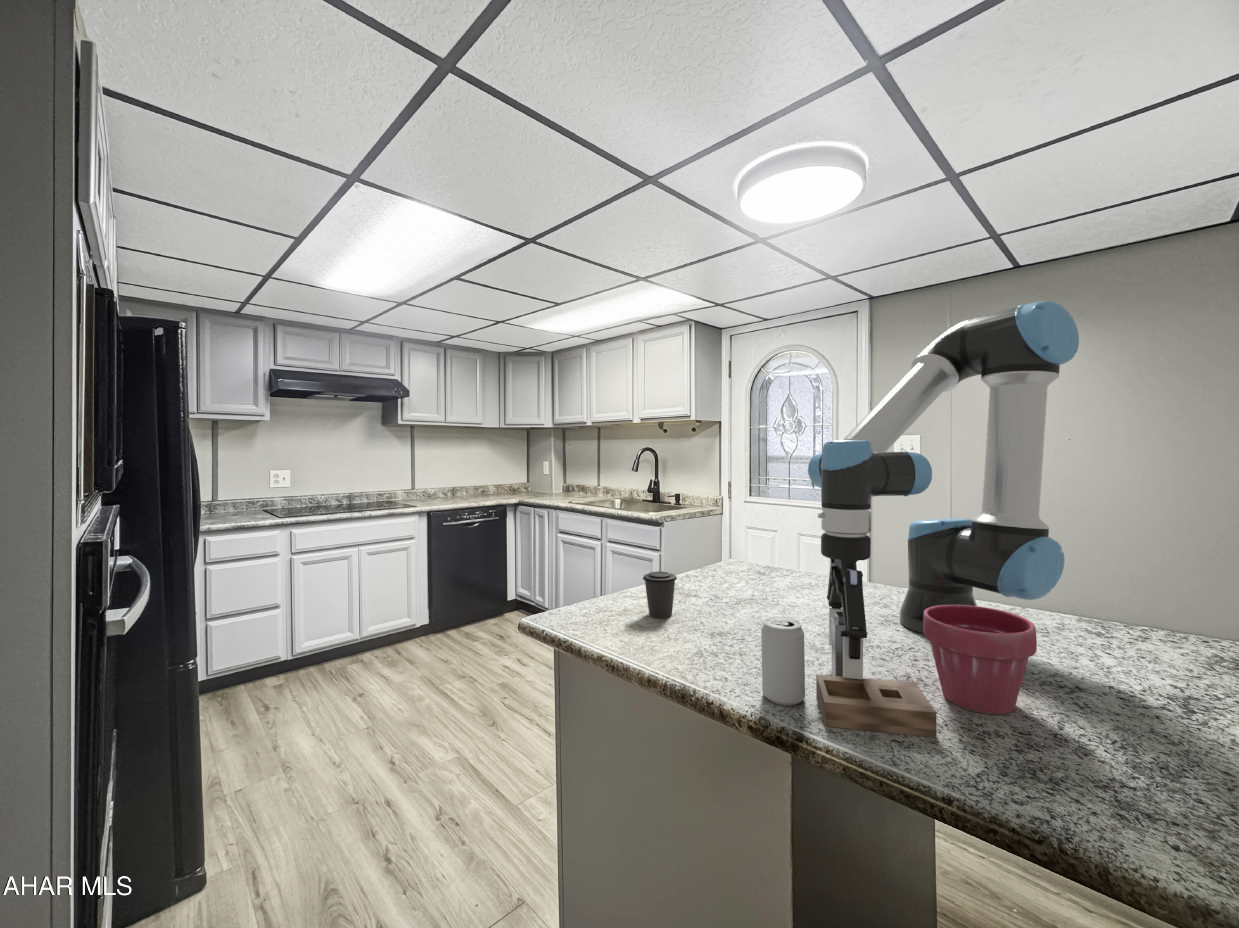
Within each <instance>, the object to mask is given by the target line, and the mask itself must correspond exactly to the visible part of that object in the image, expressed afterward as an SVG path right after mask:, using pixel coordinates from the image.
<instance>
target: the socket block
mask: <svg viewBox="0 0 1239 928" xmlns="http://www.w3.org/2000/svg"><path fill="white" fill-rule="evenodd" d="M815 678H816V679H815V680H816V700H817V702H818V705H819V709H820V714H821V716H822V717H821V718H822V720H823V721H822V722H823V724H824V727H830V728H840V729H841V728H842V729H848V730H849V729H850V730H859V731H870V732H879V733H888V734H898V735H899V734H900V735H908V736H918V737H929V738H937V711H936V710H935V708H934V707H933V706H932V704H931V703H930V702H929V700H928V699H927V697H926V696H925V694H924V693H923V691H922V690H921V688H920V687H919V686H918V684H917V683H916V682H915V681H913V682H912V681H903V680H902V681H900V680H888V679H878V678H877V679H876V678H864V677H863V679H853V678H844V677H840V676H832V675H825V674H816V677H815Z"/></svg>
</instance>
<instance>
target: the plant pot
mask: <svg viewBox="0 0 1239 928" xmlns="http://www.w3.org/2000/svg"><path fill="white" fill-rule="evenodd" d="M923 631H924V634H923V636H924V637H925V638H926V639H927V640H928V641H929V642H930V646H931V651H932V655H933V659H934V663H935V667H936V672H937V675H938V679H939V680H938V681H939V684H940V687H941V691H942V694H943V696H944V698H946V700H948V701H949V702H950V703H952V704H954V705H956V706H958V707H960V708H963V709H967V710H970V711H972V712H977V713H983V714H989V715H1006V714H1010V713H1012V712H1013V711H1014V710H1015V709H1016V706H1017V701H1018V698H1019V694H1020V690H1021V687H1022V683H1023V680H1024V676H1025V671H1026V668H1027V664H1028V661H1029V658H1030V657H1033V656H1035V655H1036V653H1037V650H1038V649H1037V645H1038V643H1037V629H1036V625H1035V624H1034V623H1033V622H1032V621H1031V620H1030V619H1027V618H1026V617H1023V616H1020V615H1018V614H1015V613H1012V612H1009V611H1006V610H1001V609H997V608H991V607H985V606H978V605H977V606H970V605H939V606H933V607H929V608H927V609H926V610H925V611H924V614H923Z"/></svg>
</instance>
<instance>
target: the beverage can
mask: <svg viewBox="0 0 1239 928" xmlns="http://www.w3.org/2000/svg"><path fill="white" fill-rule="evenodd" d="M760 631H761V633H760V634H761V679H762V680H761V684H762V685H761V686H762V687H761V689H762V694H763V695H764V697H766V698H767V699H768V700H769V701H770V702H772V703H774V704H777V705H780V706H788V707H790V706H796V705H798V704H800V703H801V702H802V701H803V700H804V699H805V698H806V674H805V673H806V672H805V671H806V670H805V669H806V668H805V667H806V666H805V665H806V662H805V661H806V660H805V656H806V655H805V631H804V630H803V627H802V623H801V622H800V621H799V620H797V619H795V618H791V617H785V616H773V617H767V618H765V619H764V620H763V625H762V627H761V628H760Z"/></svg>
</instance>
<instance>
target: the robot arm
mask: <svg viewBox="0 0 1239 928" xmlns="http://www.w3.org/2000/svg"><path fill="white" fill-rule="evenodd" d="M1079 343H1080V337H1079V330H1078V327H1077V323H1076V322H1075V320H1074V316H1072V315H1071V313H1070V312H1069V310H1068V309H1067V308H1065V307H1064V306H1063V305H1061V304H1059V303H1058V302H1055V301H1051V300H1041V301H1036V302H1032V303H1022V304H1020V305H1018V306H1015V307H1010V308H1007V309H1004V310H1003V309H1002V310H998V311H995V312H991V313H987V314H984V315H980V316H975V317H970V318H967V319H966V320H964V321H963V320H962V322H961V321H960V322H959V323H957V324H955V325H954V326H952V327H950V328H949V329H948V330H946V331H944V332H943V333H942V334H941V335H939V336H938V337H936V339H934V340H933V341H932V342H931V343H930V344H928V345H927V346H925V347H926V348H924V349H923V350H922V351H921V352H920V353H919V354H918V355H917V356H916V357H914V359H913V360H912V362H911V369H910V371H908V373H906V374H905V376H903V377H902V378H901V380H900V381H899V382H898V383H897V384H896V385H895V386H894V387H893V388H892V389H891V390H890V391H889V392H888V393H887V394H886V395H885V396H884V397H883V398H882V399H881V400H880V401H879V402H878V403H877V404H876V405H874V407H873V408H872V410H870V411H869V412H868V413H867V414H866V416H864V418H863V419H861V421H860V422H859V423H858V424H856V426H855V427H853V429H852V430H851V431H850V432H849V433H848V434H847V435H846V436H845V437H844V438H843V439H840V440H828V441H826V442H824V444H823V445H822V450H821V452H819V453H816V454H814V455H813V456H812V458H811V459H810V461H809V463H808V466H807V474H808V477H809V480H810V481H811V483H812V484H813V485H814V486H816V487H817V488H819V489H820V490H821V493H820V494H821V512H818V513H817V518H819V519H821V526H820V527H821V528H820V529H821V530H822V531H823V532H822V534H821V535H820V554H821V555H822V556H824V557H825V558H828V559H829V561H830V563H829V576H828V584H827V585H828V586H827V594H826V600H827V601H828V607H829V608H828V646H831V617H836V611H839V612H843V619H844V627H845V631H841V633H840V636H841V637H843V677H844V678H853V679H863V678H864V675H863V673H864V639H867V638H868V631H867V621H866V611H865V598H864V590H863V589H864V588H863V587H864V586H863V577H864V576H863V575H864V574H863V572H862V570H858V569H857V567H858V566H857V562H859V561H867V560H868V559H870V558H871V546H872V545H871V544H872V543H871V542H872V541H871V540H872V539H871V537H870V536H869V535H868V534H870V533H871V532H872V497H896V496H898V497H899V496H900V497H901V496H903V497H908V496H913V495H919V494H922V493H923V492H925V491H926V490H927V489H928V488H929V487H930V485H931V483H932V480H933V477H932V476H933V468H932V465H931V463H930V461H929V460H928V458H927V457H925V456H924V455H923V454H920V453H919V452H914V451H913V452H912V451H907V450H905V451H902V450H901V451H889V449H890V448H891V447H892V446H893V445H894V444H895V443H896V442H897V441H898V440H899V439H900V438H901V436H903V435H904V433H906V431H908V429H909V428H911V426H912V425H913V424H914V423H915V422H916V421H917V420H918V418H920V417H921V416H922V415H923V413H925V412H926V411H927V409H929V407H930V406H931V405H932V404H934V402H935V401H936V400H937V398H939V397H940V396H941V395H942V393H943V392H950V391H951V390H953V389H955V387H956V386H958V384H959V383H960V382H962V381H964V380H967V379H968V378H969V379H970V378H972V377H975V376H980V380H981V382H983V383H984V384H985V385H986V386H987V387H988V388H989V395H988V396H989V397H988V398H989V399H988V411H987V412H988V413H987V415H988V416H987V428H986V429H987V430H986V442H985V457H984V462H985V463H984V472H983V473H984V474H983V488H982V501H981V502H982V504H981V512H980V513H979V514H977V515H976V516H975V517H973V518H935V519H934V518H933V519H922V520H921V519H920V520H914V521H913V522H911V523H910V524H909V528H908V537H907V548H908V549H907V550H908V551H907V553H908V554H907V555H908V556H907V557H908V558H907V559H908V560H907V561H908V562H907V563H908V589H907V592H906V594H905V596H904V598H903V601H902V604H901V607H900V611H899V622H900V624H901V625H903V626H904V627H905V628H907V629H909V630H912V631H915V632H917V633H920V634H923V635H924V631H923V614H924V611H925V610H926V609H927V608H929V607H933V606H939V605H970V606H978V604H977V602H976V599H975V597H974V592H973V591H974V588H975V589H980V590H983V591H987V592H992V593H995V594H1000V595H1002V596H1004V597H1006V598H1015V599H1019V600H1026V601H1034V600H1038V599H1041V598H1043V597H1045V596H1046V595H1048V594H1049V593H1051V591H1052V590H1053V589H1055V587H1056V586H1057V585H1058V583H1059V581H1060V579H1061V577H1062V575H1063V571H1064V568H1065V553H1064V551H1063V550H1062V549H1063V548H1062V546H1061V544H1060V543H1059V542H1058V541H1057V540H1054V539H1053V538H1051V537H1049V533H1050V530H1049V529H1050V526H1049V525H1047V523H1045V521H1043V519H1041V518H1040V506H1041V505H1040V504H1041V491H1042V489H1041V488H1042V475H1043V461H1044V459H1043V458H1044V448H1045V447H1044V445H1045V432H1046V431H1045V429H1046V415H1047V402H1048V401H1047V400H1048V388H1049V386H1050V385H1051V384H1052V383H1053V382H1055V381H1056V380H1057V379H1059V377H1060V369H1061V368H1060V367H1061V365H1064V364H1067V363H1068V362H1070V361H1071V360H1073V359H1074V358H1075V354H1077V352H1078V350H1079ZM854 627H855V628H858V629H852V628H854Z"/></svg>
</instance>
